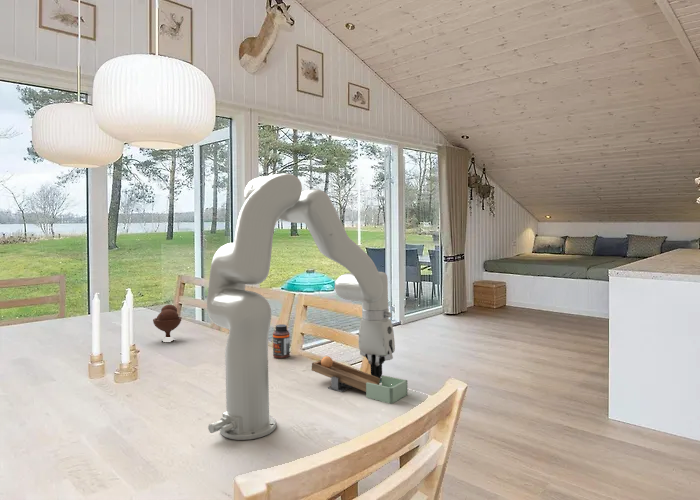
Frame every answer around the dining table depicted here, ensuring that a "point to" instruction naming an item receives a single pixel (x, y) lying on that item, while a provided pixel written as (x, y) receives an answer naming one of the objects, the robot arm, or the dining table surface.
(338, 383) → the fulcrum
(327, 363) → the ball
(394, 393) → the tray
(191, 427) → the dining table surface
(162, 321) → the ice cream bowl
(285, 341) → the supplement bottle
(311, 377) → the dining table surface
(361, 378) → the lever
